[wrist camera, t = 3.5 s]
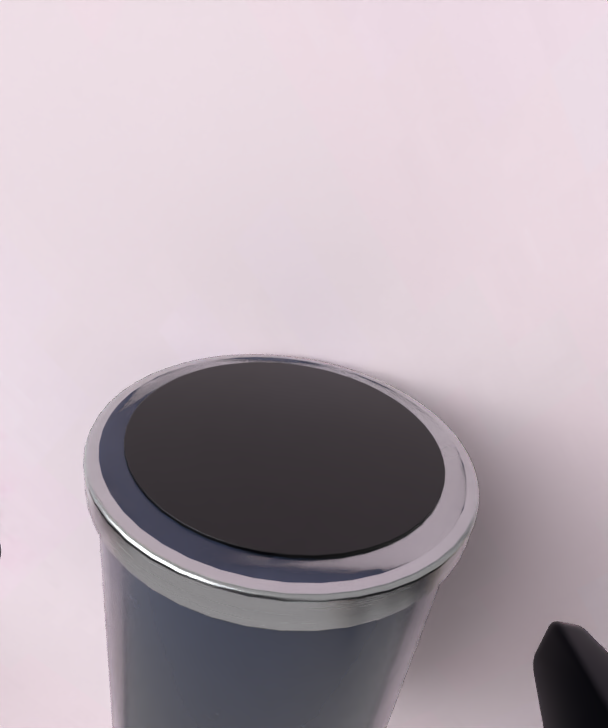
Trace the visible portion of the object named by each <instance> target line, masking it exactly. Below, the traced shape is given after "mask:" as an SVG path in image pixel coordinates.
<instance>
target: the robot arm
mask: <svg viewBox="0 0 608 728" xmlns="http://www.w3.org/2000/svg"><path fill="white" fill-rule="evenodd" d="M0 557H1V545H0ZM533 670H534V677H535V682H536V688H537V693H538V699H539V704H540V710H541V715H542V721H543V727H544V728H608V652H607V651H606V650H605V649H604V648H603V647H602V646H601V645H600V644H599V643H598V642H597V641H596V640H595V639H594V638H593V637H592V636H591V635H590V634H589V633H588V632H587V631H586V630H585V629H584V628H582V627H580V626H578V625H574V624H569V623H563V622H558V621H557V622H553V623H551V624H550V626H549V627H548V629H547V631H546V633H545V635H544V637H543V639H542V641H541V643H540V645H539V647H538V649H537V651H536V653H535V656H534V661H533Z"/></svg>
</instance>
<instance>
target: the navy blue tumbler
mask: <svg viewBox="0 0 608 728" xmlns="http://www.w3.org/2000/svg"><path fill="white" fill-rule="evenodd" d="M83 468H84V480H85V492H86V498H87V504H88V510H89V513H90V515H91V518H92V520H93V523H94V526H95V528H96V530H97V532H98V533H99V535H100V547H101V562H102V577H103V592H104V607H105V621H106V636H107V651H108V666H109V681H110V695H111V710H112V725H113V728H386V727H387V725H388V722H389V719H390V717H391V714H392V711H393V709H394V706H395V703H396V701H397V698H398V695H399V692H400V690H401V687H402V684H403V682H404V679H405V676H406V674H407V671H408V668H409V666H410V663H411V660H412V658H413V655H414V652H415V650H416V647H417V644H418V642H419V639H420V636H421V633H422V631H423V628H424V625H425V623H426V620H427V617H428V615H429V612H430V609H431V607H432V604H433V601H434V599H435V596H436V593H437V591H438V588H439V585H440V583H441V582H442V581H443V580H445V579H446V578H447V577H448V575H449V574H450V573H451V571H452V570H453V568H454V567H455V566H456V564H457V563H458V561H459V560H460V558H461V556H462V553H463V551H464V549H465V546H466V544H467V542H468V539H469V537H470V534H471V531H472V529H473V526H474V524H475V521H476V517H477V512H478V507H479V486H478V481H477V477H476V472H475V468H474V466H473V464H472V461H471V459H470V457H469V455H468V453H467V451H466V449H465V448H464V446H463V445H462V443H461V442H460V440H459V439H458V438H457V436H456V435H455V434H454V433H453V432H452V430H451V429H450V428H449V427H448V426H447V425H446V424H445V423H444V422H443V421H442V420H441V419H440V418H439V417H438V416H437V415H435V414H434V413H433V412H432V411H430V410H429V409H428V408H427V407H425V406H424V405H423V404H421V403H420V402H418V401H417V400H415V399H414V398H412V397H411V396H409V395H407V394H406V393H404V392H402V391H400V390H398V389H397V388H395V387H393V386H391V385H389V384H387V383H384V382H382V381H380V380H378V379H376V378H373V377H370V376H368V375H365V374H363V373H360V372H357V371H354V370H351V369H348V368H345V367H341V366H337V365H334V364H330V363H326V362H321V361H316V360H311V359H305V358H298V357H291V356H281V355H264V354H243V355H227V356H217V357H210V358H204V359H198V360H194V361H189V362H185V363H181V364H178V365H175V366H171V367H168V368H165V369H163V370H160V371H158V372H155V373H153V374H150V375H149V376H147V377H145V378H143V379H141V380H139V381H137V382H135V383H134V384H132V385H131V386H129V387H128V388H126V389H125V390H123V391H122V392H121V393H120V394H118V395H117V396H116V397H115V398H114V399H113V400H112V401H110V402H109V403H108V405H107V406H106V407H105V408H104V410H103V411H102V412H101V413H100V414H99V416H98V417H97V419H96V421H95V423H94V425H93V426H92V428H91V430H90V432H89V436H88V439H87V442H86V445H85V449H84V463H83Z"/></svg>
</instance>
